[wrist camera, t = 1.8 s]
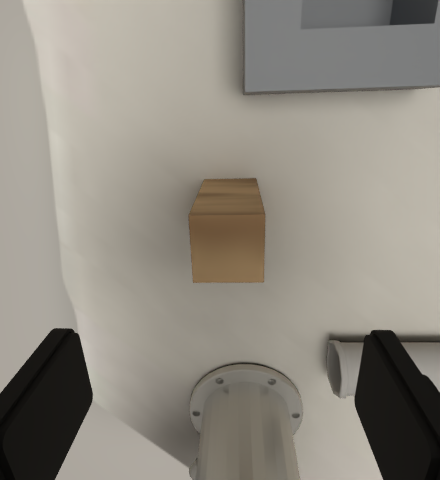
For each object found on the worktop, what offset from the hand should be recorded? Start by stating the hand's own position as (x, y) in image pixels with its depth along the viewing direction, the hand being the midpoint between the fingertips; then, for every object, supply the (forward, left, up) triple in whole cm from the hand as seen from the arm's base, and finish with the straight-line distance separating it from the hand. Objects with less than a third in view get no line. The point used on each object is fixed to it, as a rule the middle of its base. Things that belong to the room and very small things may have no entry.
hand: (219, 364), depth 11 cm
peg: (0, 0, -20) cm, 20 cm away
